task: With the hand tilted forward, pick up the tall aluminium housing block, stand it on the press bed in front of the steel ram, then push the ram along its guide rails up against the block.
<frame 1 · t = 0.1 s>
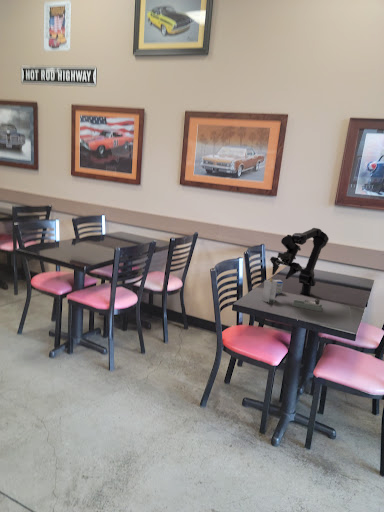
hand: (279, 276, 211), 15 cm above the table, tool tilted 35°, fingers open, 9 cm apart
medicine box: (273, 294, 228), on the table
ram: (312, 303, 205), point 4 cm above the table, slide at 0.0 cm
housing: (268, 301, 214), on the table
press bed: (298, 304, 212), on the table
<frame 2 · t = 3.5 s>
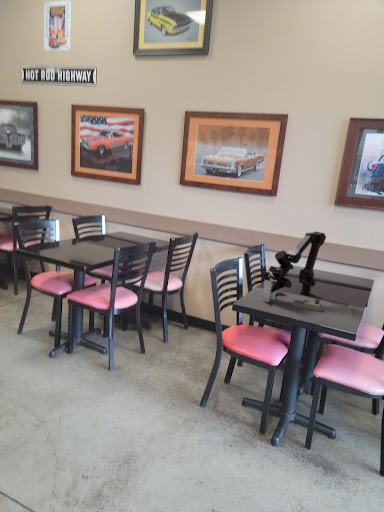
hand: (268, 290, 212), 7 cm above the table, tool tilted 45°, fingers closed on housing, 5 cm apart
housing: (268, 301, 214), on the table, touching gripper
everything else where it was.
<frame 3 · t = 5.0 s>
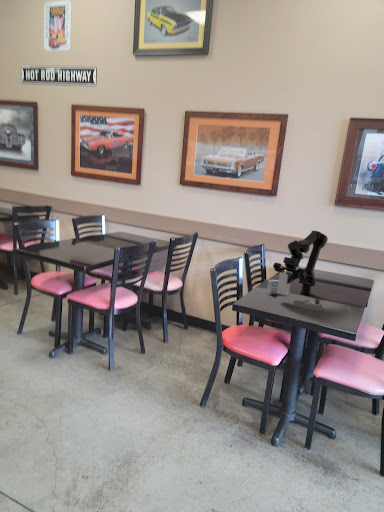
hand: (283, 282, 207), 13 cm above the table, tool tilted 45°, fingers closed on housing, 5 cm apart
housing: (282, 293, 209), point 6 cm above the table, touching gripper
everything else where it was.
when the fingers open (9 cm above the table, at t = 6.5 s): housing stays where it is, resting on press bed.
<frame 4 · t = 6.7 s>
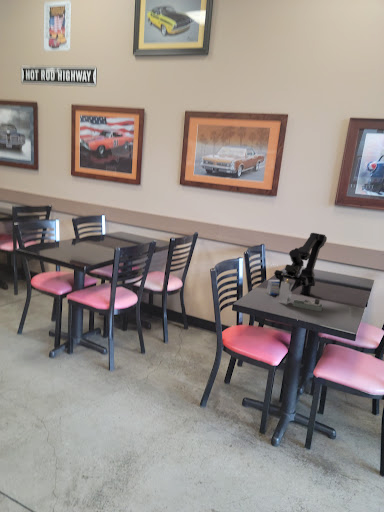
hand: (285, 289, 207), 9 cm above the table, tool tilted 45°, fingers open, 7 cm apart
housing: (284, 302, 210), point 1 cm above the table, touching press bed
everything else where it was.
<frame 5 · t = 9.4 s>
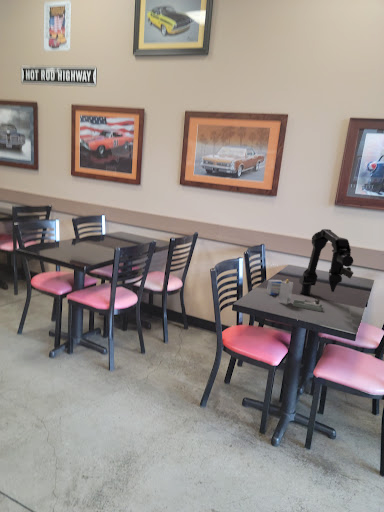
hand: (332, 290, 200), 13 cm above the table, tool pointing down, fingers open, 6 cm apart
nothing on the table moved.
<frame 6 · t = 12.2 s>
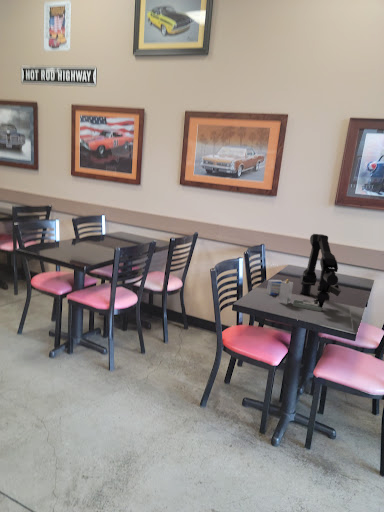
hand: (320, 307, 203), 2 cm above the table, tool pointing down, fingers closed
ram: (310, 303, 205), point 4 cm above the table, slide at 0.7 cm, touching gripper
everything else where it was.
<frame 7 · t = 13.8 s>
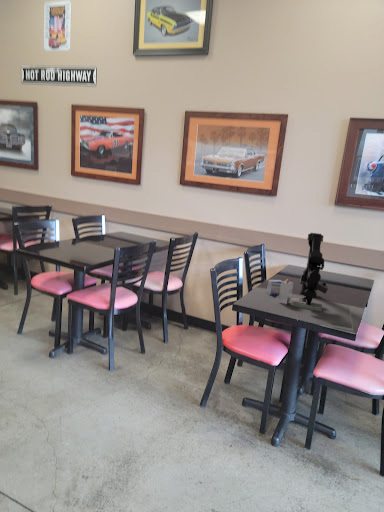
hand: (308, 304, 205), 2 cm above the table, tool pointing down, fingers closed, pressing on ram
ram: (298, 300, 207), point 4 cm above the table, slide at 7.1 cm, touching gripper
everything else where it was.
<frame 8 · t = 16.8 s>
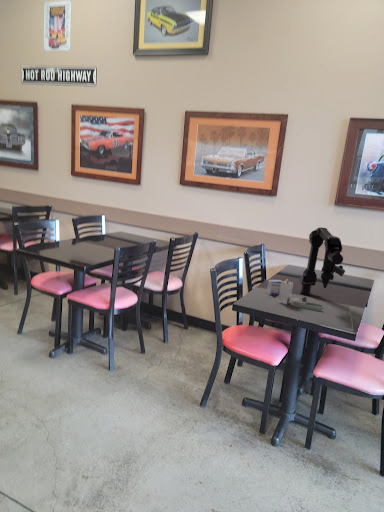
hand: (324, 288, 203), 13 cm above the table, tool pointing down, fingers closed
ram: (298, 300, 207), point 4 cm above the table, slide at 7.0 cm
everything else where it was.
at the end: housing inside the target area (0.0 cm from its centre), point 1.2 cm above the table; housing tilted 0°; ram slide at 7.0 cm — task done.
